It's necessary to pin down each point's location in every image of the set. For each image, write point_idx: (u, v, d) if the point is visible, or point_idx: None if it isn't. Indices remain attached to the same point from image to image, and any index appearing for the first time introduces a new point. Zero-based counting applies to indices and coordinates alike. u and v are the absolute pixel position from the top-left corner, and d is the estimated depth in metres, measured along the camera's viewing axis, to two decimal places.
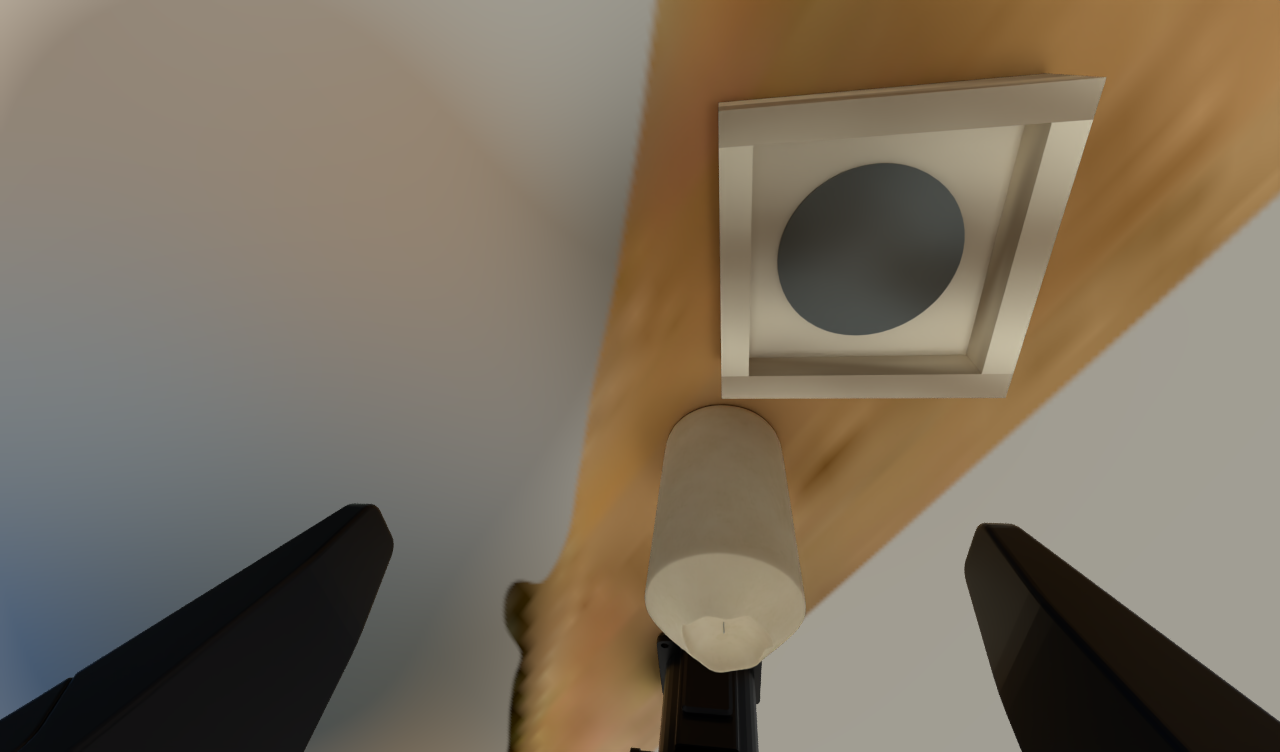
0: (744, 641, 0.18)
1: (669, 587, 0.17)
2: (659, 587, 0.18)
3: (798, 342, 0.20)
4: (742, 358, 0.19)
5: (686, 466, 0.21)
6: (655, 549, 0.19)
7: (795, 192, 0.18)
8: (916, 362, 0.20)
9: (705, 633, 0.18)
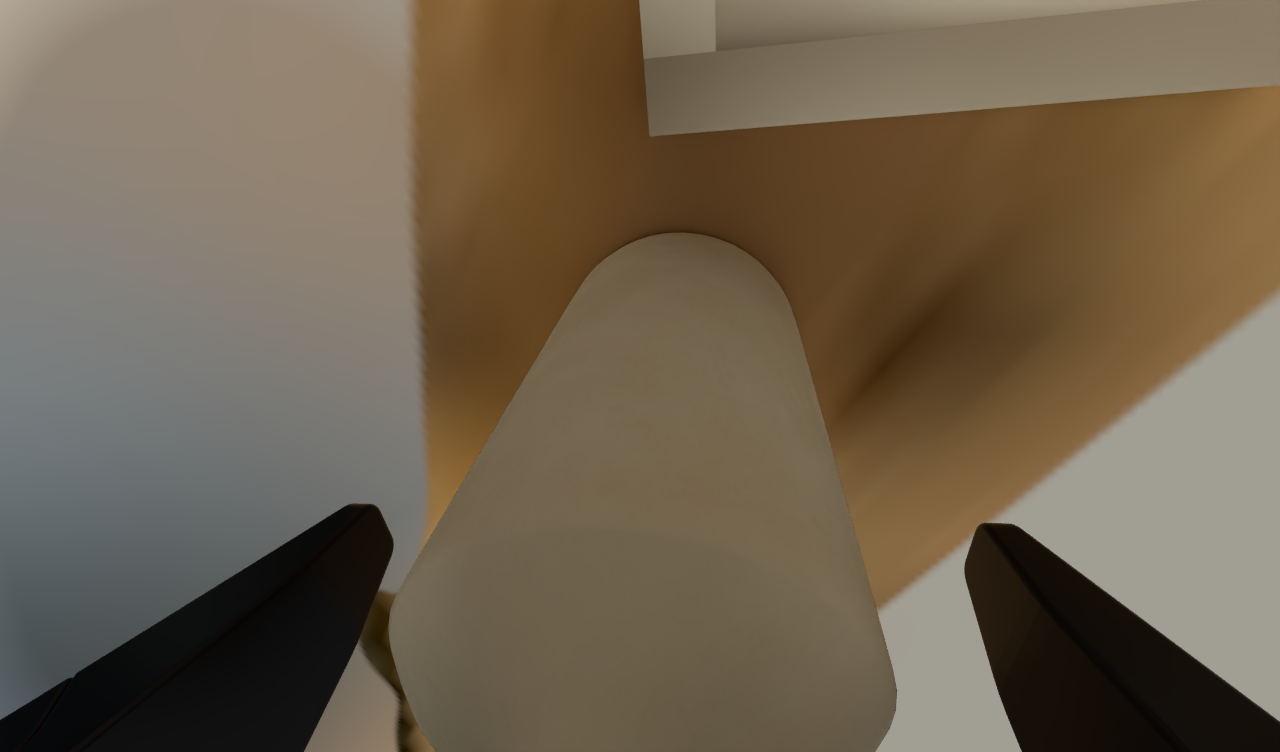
0: None
1: (422, 645, 0.05)
2: (403, 640, 0.05)
3: None
4: None
5: (570, 325, 0.09)
6: None
7: None
8: (1181, 3, 0.07)
9: None
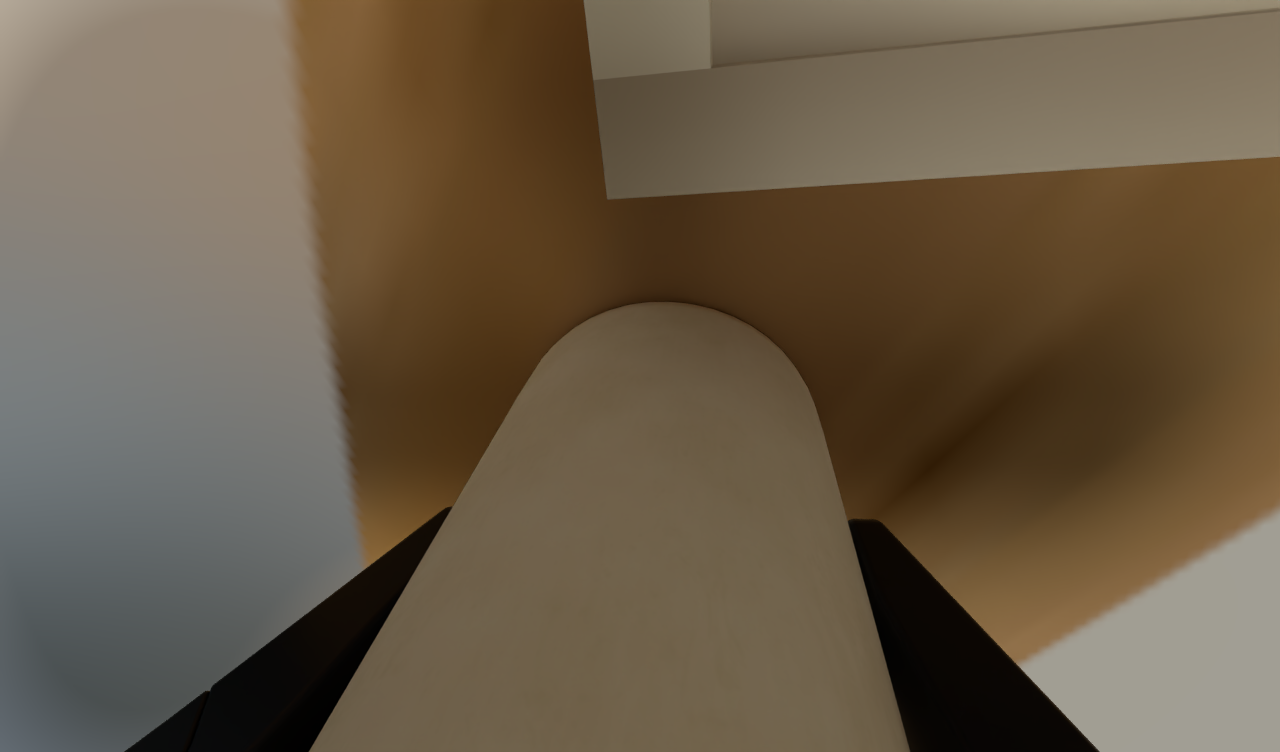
0: None
1: None
2: None
3: None
4: None
5: (494, 473, 0.06)
6: None
7: None
8: None
9: None
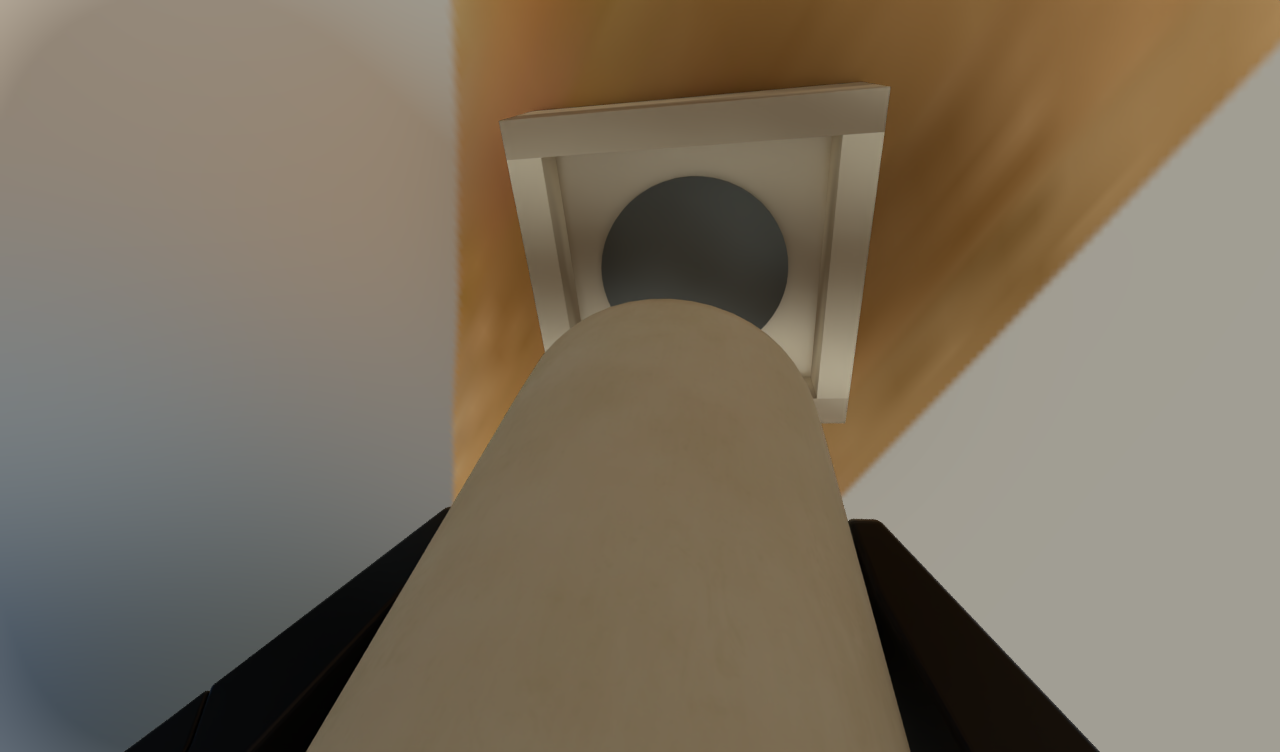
0: None
1: None
2: None
3: None
4: None
5: (496, 468, 0.06)
6: None
7: (609, 206, 0.17)
8: None
9: None
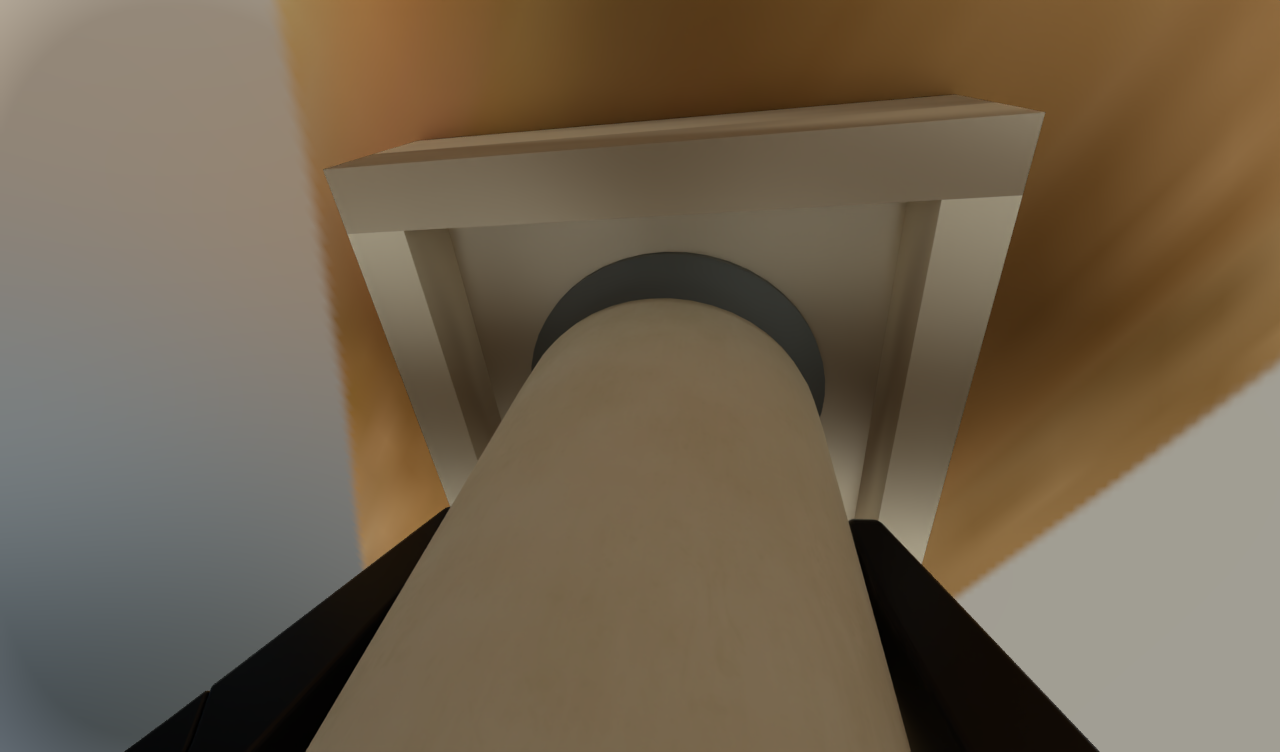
0: None
1: None
2: None
3: None
4: None
5: (496, 467, 0.06)
6: None
7: (538, 295, 0.10)
8: None
9: None
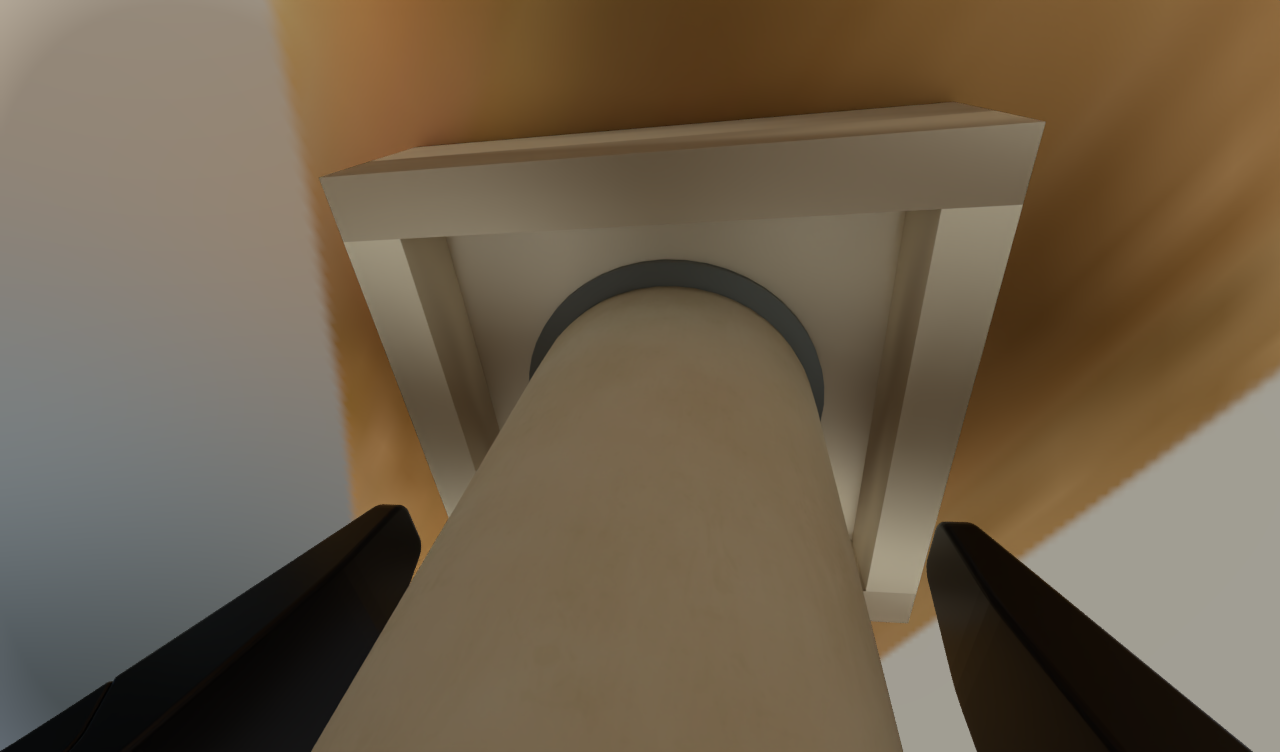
0: None
1: None
2: None
3: None
4: None
5: (519, 433, 0.07)
6: None
7: (536, 302, 0.10)
8: None
9: None
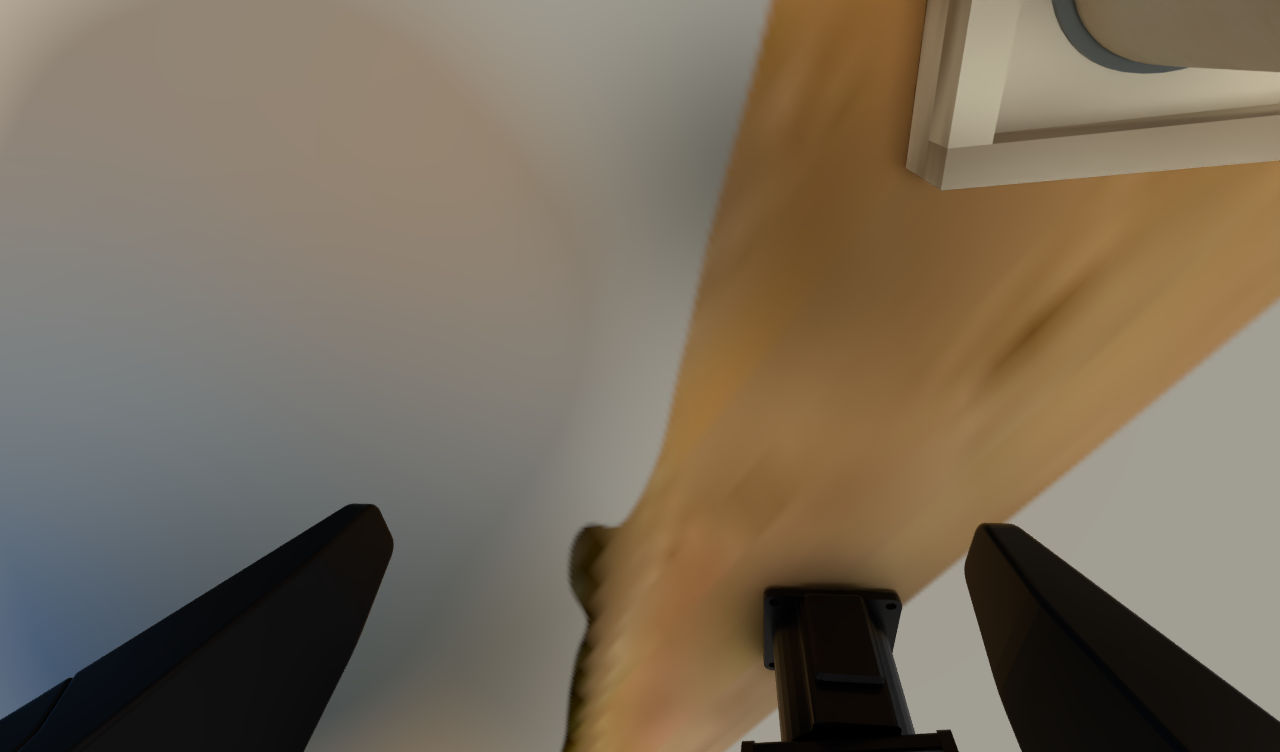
0: None
1: None
2: None
3: (1058, 99, 0.13)
4: (988, 111, 0.13)
5: None
6: None
7: None
8: (1259, 109, 0.13)
9: None
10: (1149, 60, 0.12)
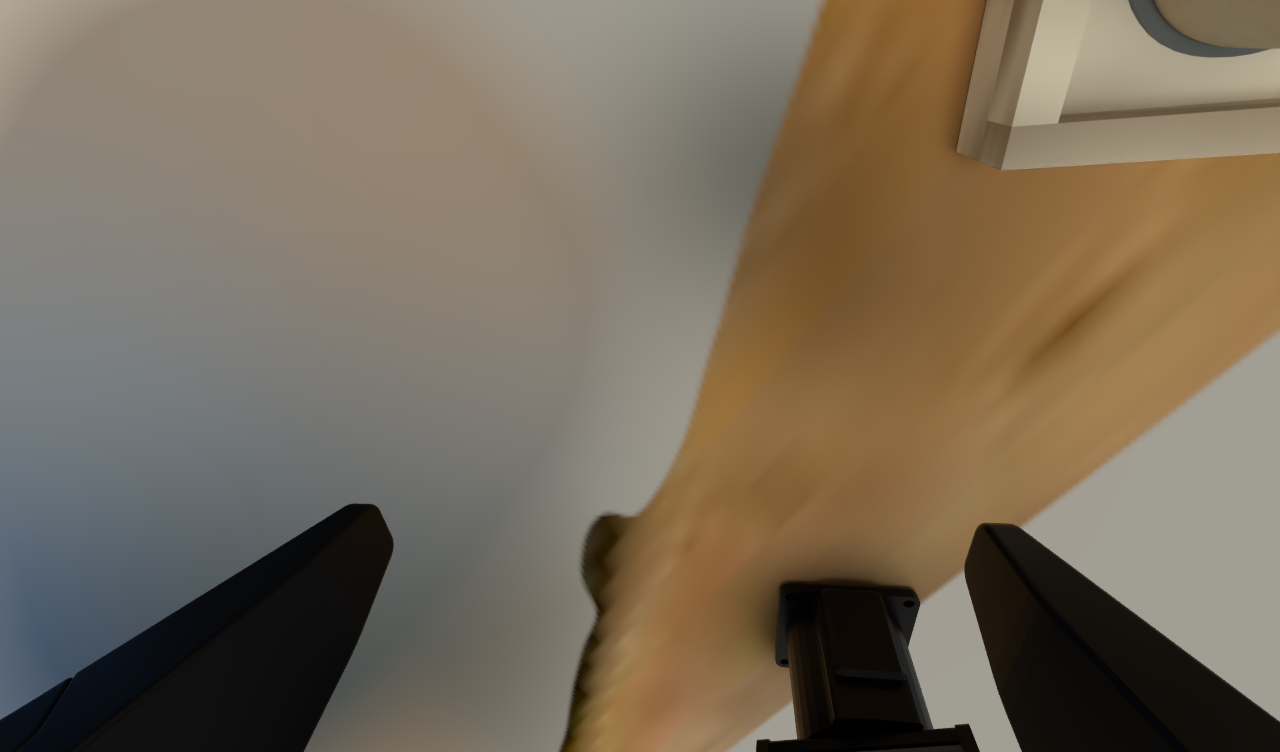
0: None
1: None
2: None
3: (1122, 81, 0.13)
4: (1057, 88, 0.12)
5: None
6: None
7: None
8: None
9: None
10: (1224, 40, 0.12)
